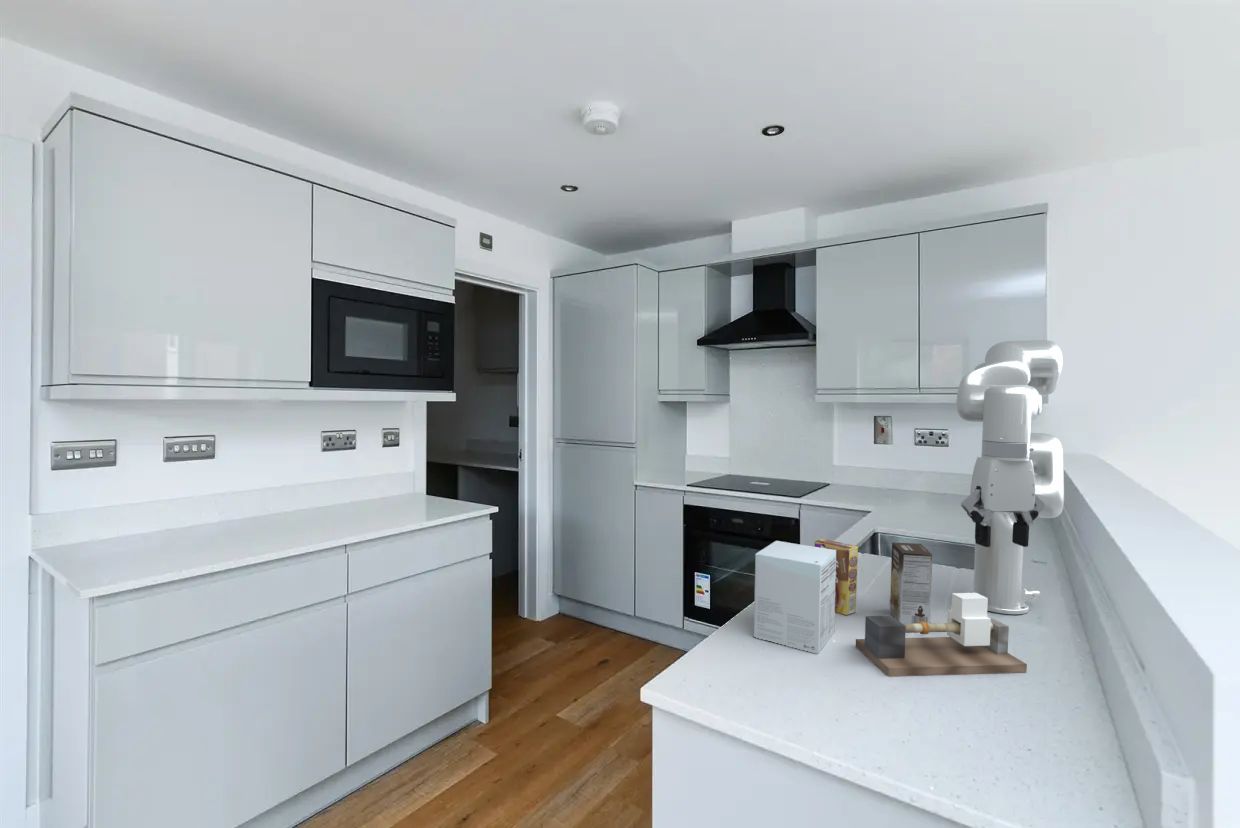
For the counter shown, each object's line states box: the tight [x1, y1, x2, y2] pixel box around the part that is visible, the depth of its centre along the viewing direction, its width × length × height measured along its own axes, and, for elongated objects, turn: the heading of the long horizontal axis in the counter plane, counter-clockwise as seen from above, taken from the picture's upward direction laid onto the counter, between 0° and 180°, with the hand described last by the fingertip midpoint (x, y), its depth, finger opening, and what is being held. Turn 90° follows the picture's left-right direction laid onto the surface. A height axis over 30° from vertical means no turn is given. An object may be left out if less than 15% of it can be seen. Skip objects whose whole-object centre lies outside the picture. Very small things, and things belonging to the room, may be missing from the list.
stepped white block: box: [946, 592, 991, 646], centre depth 110 cm, size 5×5×8 cm
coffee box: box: [889, 542, 934, 624], centre depth 129 cm, size 9×6×16 cm
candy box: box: [814, 538, 859, 616], centre depth 135 cm, size 9×4×15 cm, turn 39°
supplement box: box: [752, 540, 836, 655], centre depth 119 cm, size 13×13×18 cm
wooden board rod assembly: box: [855, 614, 1028, 677], centre depth 110 cm, size 26×12×8 cm, turn 95°
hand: (1001, 544), depth 110 cm, fingers open, 6 cm apart
